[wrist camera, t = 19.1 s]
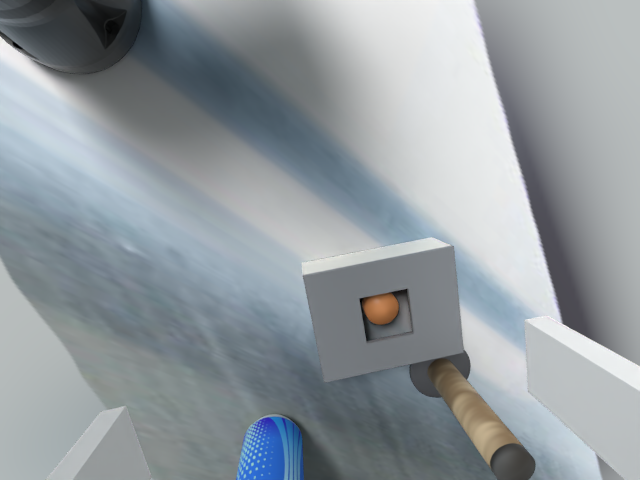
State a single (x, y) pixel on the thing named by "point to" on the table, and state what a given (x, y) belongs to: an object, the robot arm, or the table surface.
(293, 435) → the beer can
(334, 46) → the table surface
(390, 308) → the breaker button
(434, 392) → the pad
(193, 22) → the table surface
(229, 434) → the table surface
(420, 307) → the box
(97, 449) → the robot arm
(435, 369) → the stylus
